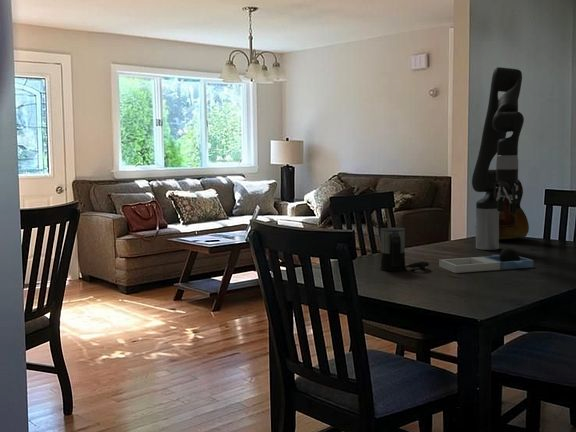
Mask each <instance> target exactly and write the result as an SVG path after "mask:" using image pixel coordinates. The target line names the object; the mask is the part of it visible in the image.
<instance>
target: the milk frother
mask: <svg viewBox="0 0 576 432" xmlns="http://www.w3.org/2000/svg"><path fill="white" fill-rule="evenodd" d="M405 230H406V228H404V227H381V228H379V231H380V270H382V271H397V272H398V271H405V270H406V269H407V268H410V269H417V268H419V269H420V270H423V269H425V268H426V267H428V266H430V262H427V261H418V262H414V263H410V264H408V265H406V259H405V257H406V256H405V254H406V253H405V252H406V250H405V248H406V247H405V245H406V244H405V240H406V239H405Z"/></svg>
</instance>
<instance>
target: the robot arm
mask: <svg viewBox="0 0 576 432" xmlns="http://www.w3.org/2000/svg"><path fill="white" fill-rule="evenodd" d="M522 81H523V74H522V71H521V70H520V69H519V68H518V69H517V68H509V67H498V66H497V67H495V69H494V70H493V72H492V76H491V83H490V90H489V98H488V106H487V111H486V115H485V119H484V124H483V129H482V135H481V141H480V145H479V146H480V147H479V151H478V156H477V159H476V163H475V166H474V169H473V174H472V178H471V185H472V188H473V190H474V192H476V193H485V195H484V196H483V197H482V198H480V199H478V200H477V201H476V205H475V207H476V209H475V212H476V213H475V214H476V215H475V219H476V221H475V222H476V223H475V224H476V225H475V248H476V249H478V250H482V251H483V250H484V251H485V250H486V251H492V250H493V251H495V250H498V249H500V239H499V211H504V201H503V200H504V198H505V197H507V198H508V199H509V202H510V204H509V213H510V214H515V213H516V203H517V202H520V185H515V183H514V182H515V181H517V180H518V179H519V156H518V155H519V154H518V153H519V141H520V140H519V139H520V135H521V131H522V129H523V126H524V121H525V118H524V116H523V113H521V112H520V111H519V98H520V93H521V88H522V87H521V86H522ZM499 92H501V93H503V94H502V95H501V96H500V97H499ZM509 132H511V133H512V134H511V136H509V137H507V133H509ZM496 155H497V156H496ZM495 156H496V161H495V169H490V165H491V162H492V161H493V160H494V159H493V158H495Z"/></svg>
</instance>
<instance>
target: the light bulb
mask: <svg viewBox="0 0 576 432" xmlns="http://www.w3.org/2000/svg"><path fill="white" fill-rule="evenodd" d="M499 255H500V256H499V258H500V261H501V262H508V261H522V260H521V259H520V257H521V256H520V255H518V252H517V250H515V249H513V248H510V247H506V248H504V249H502V250H501V251H500V253H499ZM519 256H520V257H519Z"/></svg>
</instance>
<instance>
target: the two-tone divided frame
mask: <svg viewBox="0 0 576 432" xmlns="http://www.w3.org/2000/svg"><path fill="white" fill-rule="evenodd" d="M499 256H500V254H491V256H490V255H489V256H488V255H487V256H475V257H473V256H472V257H462V258H459V257H458V258H447V259H446V258H445V259H443V258H442V259H438V262H439V263H438V266H439V268H442V269H445V270H447V271H449V272H452V273H455V274H458V273H472V272H474V273H475V272H484V271H485V272H486V271H488V272H489V271H499V270H500V271H501V270H502V271H503V270H511V269H512V270H514V269H527V268H534V260H533V259H531V258H526V257H524V256H523V257H522V256H520V255H518V256H519V257H520V259H521V260H522V261H508V262H501V261H500V258H499Z"/></svg>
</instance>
